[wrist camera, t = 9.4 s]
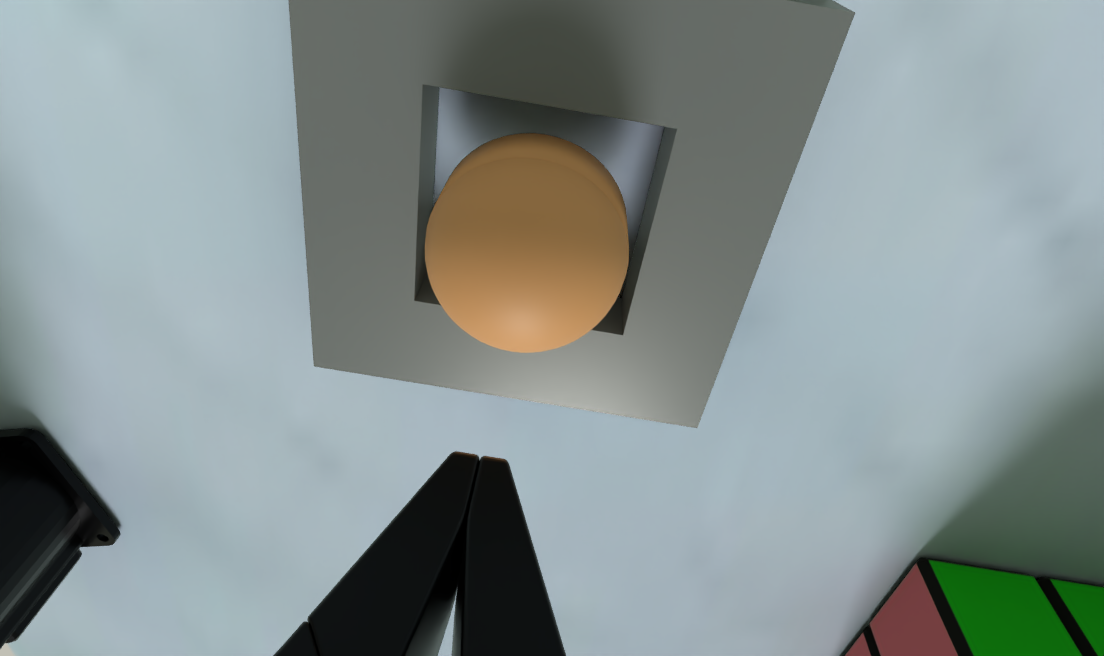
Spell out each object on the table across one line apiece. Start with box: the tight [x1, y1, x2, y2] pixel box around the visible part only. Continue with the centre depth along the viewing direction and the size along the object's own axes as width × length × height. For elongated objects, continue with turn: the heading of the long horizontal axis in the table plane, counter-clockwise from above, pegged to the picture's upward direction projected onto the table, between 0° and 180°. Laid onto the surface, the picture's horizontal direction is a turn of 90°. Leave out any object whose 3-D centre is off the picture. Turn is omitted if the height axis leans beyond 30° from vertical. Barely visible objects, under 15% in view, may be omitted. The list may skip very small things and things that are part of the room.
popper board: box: [289, 0, 855, 428], centre depth 18 cm, size 12×12×2 cm
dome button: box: [425, 133, 629, 353], centre depth 16 cm, size 5×5×5 cm
